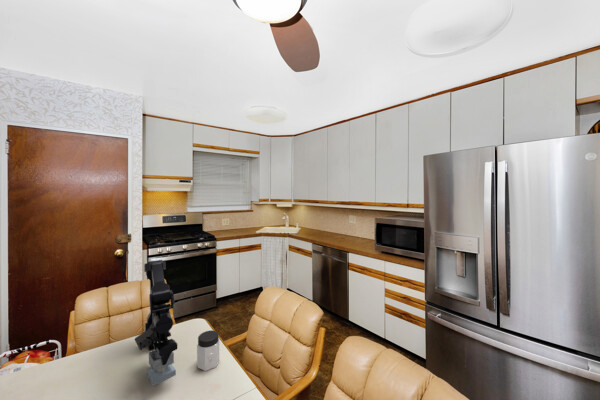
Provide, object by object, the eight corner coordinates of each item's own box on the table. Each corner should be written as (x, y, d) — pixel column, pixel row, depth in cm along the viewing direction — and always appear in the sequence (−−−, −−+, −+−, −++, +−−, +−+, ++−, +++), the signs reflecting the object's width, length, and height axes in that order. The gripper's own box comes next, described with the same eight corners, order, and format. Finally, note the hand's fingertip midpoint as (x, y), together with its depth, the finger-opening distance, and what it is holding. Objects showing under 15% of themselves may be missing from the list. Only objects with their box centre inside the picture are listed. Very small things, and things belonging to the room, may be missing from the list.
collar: (167, 354, 102) (167, 345, 102) (173, 362, 97) (173, 352, 97) (148, 362, 97) (148, 352, 97) (153, 371, 92) (153, 361, 92)
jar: (199, 373, 97) (199, 344, 97) (195, 362, 104) (195, 334, 104) (222, 365, 102) (222, 337, 102) (216, 354, 109) (216, 328, 109)
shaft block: (146, 374, 97) (146, 359, 97) (168, 364, 103) (168, 350, 102) (152, 385, 91) (152, 369, 91) (175, 374, 97) (175, 359, 97)
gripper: (131, 319, 97) (131, 358, 98) (143, 339, 84) (143, 384, 85) (162, 310, 105) (162, 346, 106) (177, 327, 92) (178, 368, 92)
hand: (161, 360), depth 97 cm, fingers closed on collar, 7 cm apart
